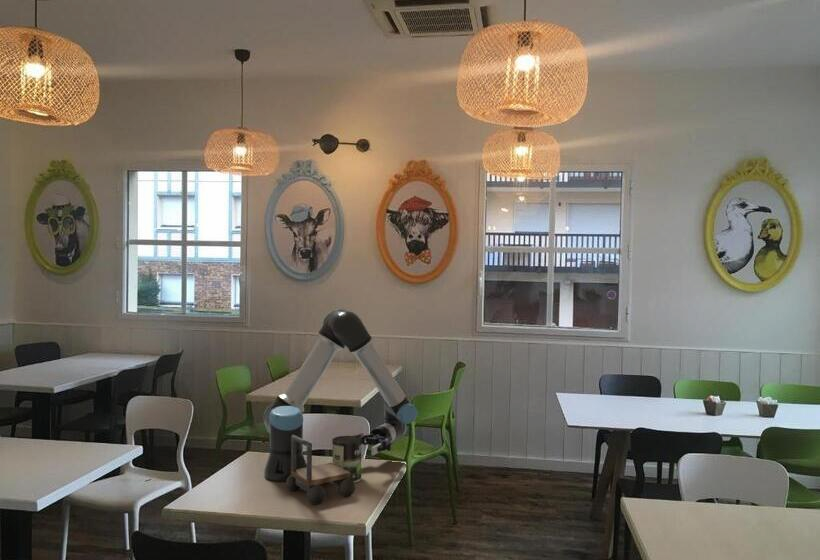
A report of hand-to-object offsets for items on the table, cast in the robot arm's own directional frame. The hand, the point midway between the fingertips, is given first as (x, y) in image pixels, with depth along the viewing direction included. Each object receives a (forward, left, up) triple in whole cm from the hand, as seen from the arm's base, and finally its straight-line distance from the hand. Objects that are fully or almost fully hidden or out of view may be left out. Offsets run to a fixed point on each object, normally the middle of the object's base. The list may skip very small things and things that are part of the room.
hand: (355, 449), depth 227 cm
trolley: (+9, -19, -9) cm, 23 cm away
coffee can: (+2, -5, -10) cm, 11 cm away
